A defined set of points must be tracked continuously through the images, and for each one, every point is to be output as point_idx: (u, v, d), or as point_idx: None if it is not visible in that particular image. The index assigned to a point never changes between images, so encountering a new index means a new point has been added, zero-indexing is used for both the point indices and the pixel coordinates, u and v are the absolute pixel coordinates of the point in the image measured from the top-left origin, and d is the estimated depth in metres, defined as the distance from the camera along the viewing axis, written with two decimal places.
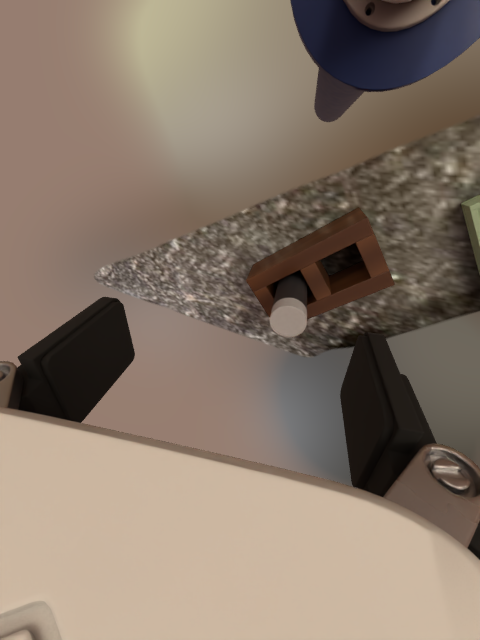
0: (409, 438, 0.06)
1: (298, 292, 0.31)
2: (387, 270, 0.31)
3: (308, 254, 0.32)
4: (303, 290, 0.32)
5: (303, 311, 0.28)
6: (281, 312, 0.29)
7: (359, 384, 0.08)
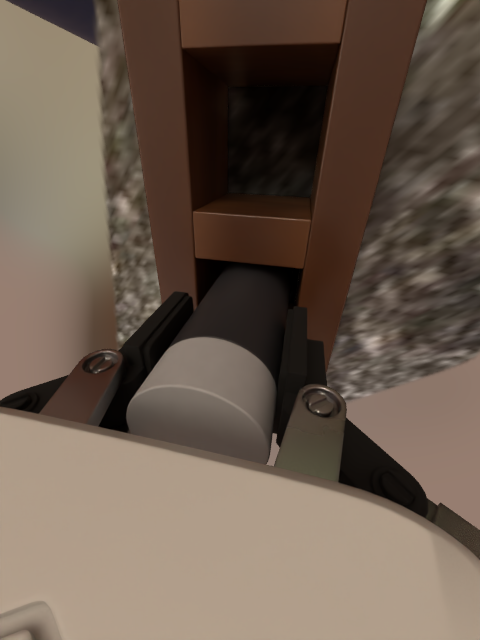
0: (297, 380, 0.07)
1: (199, 311, 0.10)
2: None
3: (165, 215, 0.11)
4: (226, 289, 0.11)
5: (183, 375, 0.06)
6: (147, 431, 0.07)
7: None
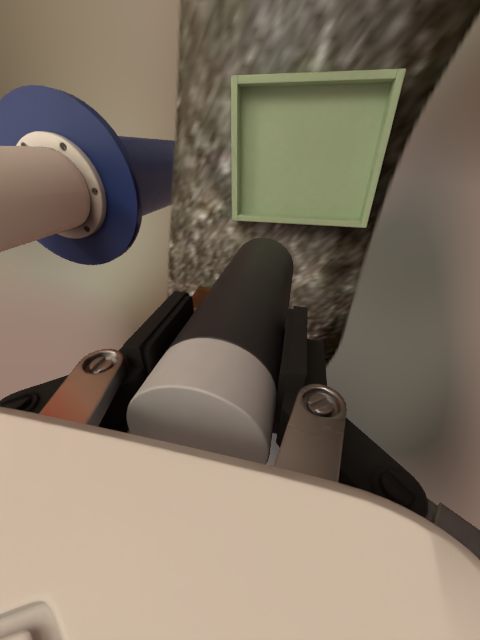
0: (297, 380, 0.07)
1: (199, 312, 0.10)
2: None
3: None
4: (226, 290, 0.11)
5: (183, 376, 0.06)
6: (147, 431, 0.07)
7: None
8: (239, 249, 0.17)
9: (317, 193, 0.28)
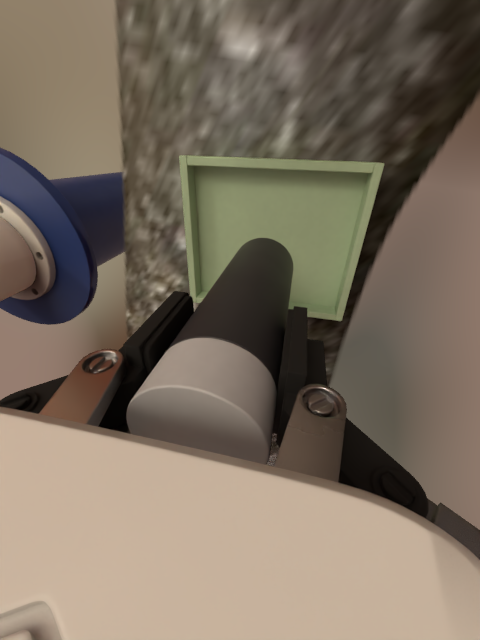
0: (297, 380, 0.07)
1: (199, 312, 0.10)
2: None
3: None
4: (226, 290, 0.11)
5: (183, 375, 0.06)
6: (147, 431, 0.07)
7: None
8: (239, 249, 0.17)
9: None
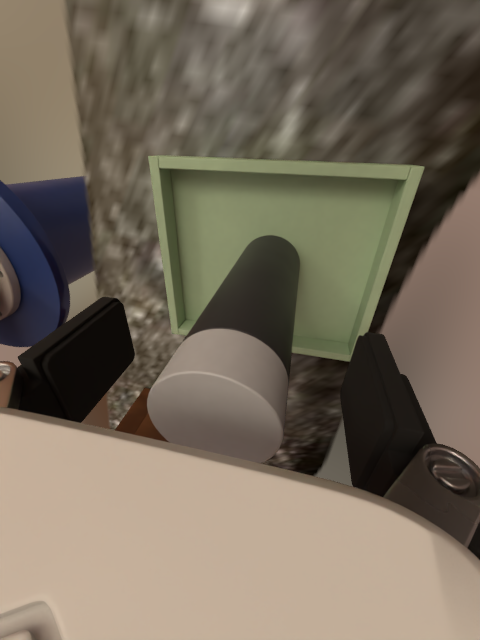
0: (409, 438, 0.06)
1: (213, 305, 0.10)
2: None
3: None
4: (238, 284, 0.11)
5: (202, 362, 0.07)
6: (166, 417, 0.08)
7: (359, 384, 0.08)
8: (247, 246, 0.17)
9: None
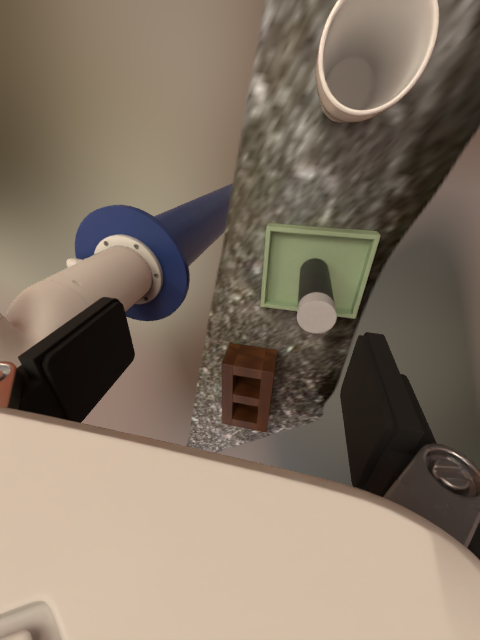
0: (409, 438, 0.06)
1: (308, 286, 0.30)
2: (261, 371, 0.44)
3: (226, 394, 0.48)
4: (314, 280, 0.31)
5: (316, 299, 0.27)
6: (303, 316, 0.28)
7: (359, 384, 0.08)
8: (305, 263, 0.38)
9: None
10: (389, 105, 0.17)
